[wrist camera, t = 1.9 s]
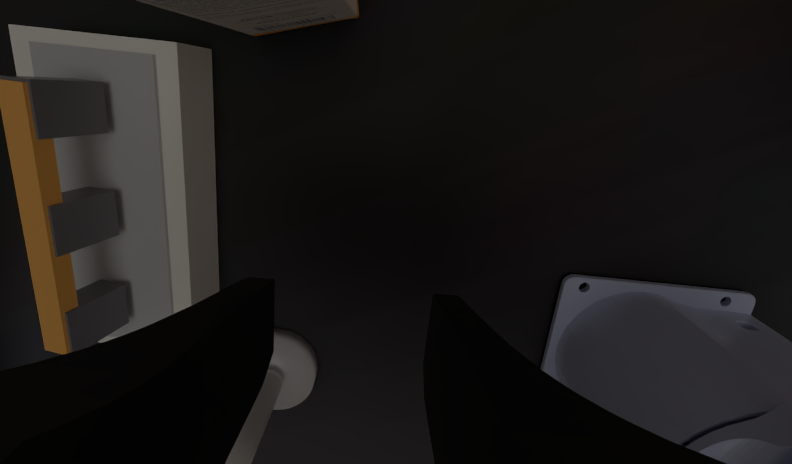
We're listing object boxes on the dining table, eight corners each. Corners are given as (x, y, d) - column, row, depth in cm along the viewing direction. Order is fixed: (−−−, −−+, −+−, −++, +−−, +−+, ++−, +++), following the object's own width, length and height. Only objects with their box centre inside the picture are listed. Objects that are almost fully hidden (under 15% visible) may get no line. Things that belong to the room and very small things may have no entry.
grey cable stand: (319, 332, 23) (249, 539, 12) (316, 400, 24) (250, 638, 14) (236, 324, 23) (94, 525, 12) (237, 393, 24) (111, 626, 14)
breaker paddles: (102, 81, 15) (24, 78, 13) (129, 322, 19) (69, 358, 16) (74, 78, 16) (-9, 74, 13) (105, 316, 19) (43, 351, 16)
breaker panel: (211, 49, 18) (174, 41, 15) (220, 317, 23) (192, 353, 20) (69, 33, 18) (3, 23, 15) (104, 306, 22) (57, 341, 19)
